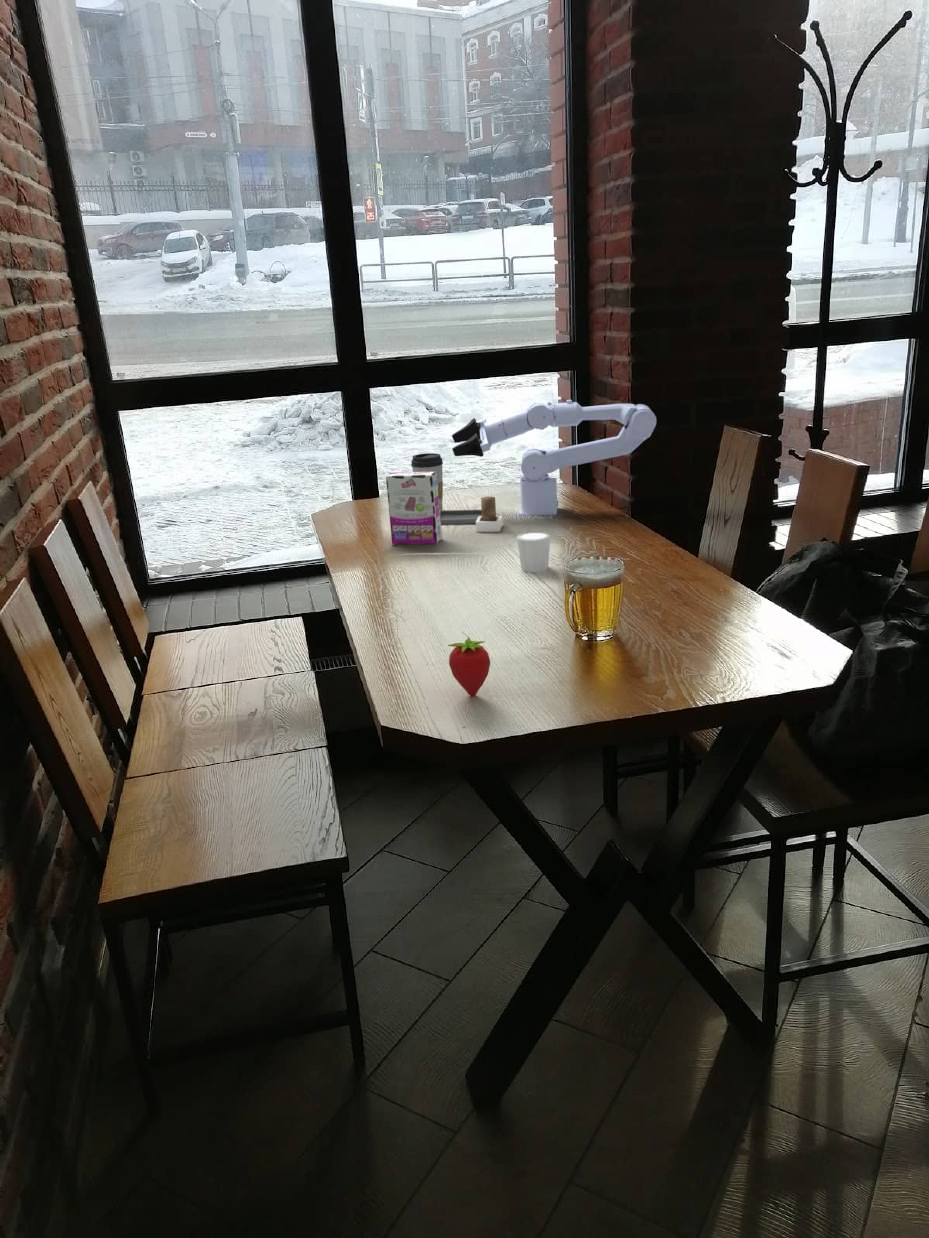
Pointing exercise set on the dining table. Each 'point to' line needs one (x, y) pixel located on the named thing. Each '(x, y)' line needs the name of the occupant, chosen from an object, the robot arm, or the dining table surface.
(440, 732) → the dining table surface
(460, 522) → the tray
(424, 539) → the candy bar box
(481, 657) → the strawberry
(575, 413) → the robot arm
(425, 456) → the coffee cup
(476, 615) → the dining table surface
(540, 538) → the white tapered cylinder
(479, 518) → the white square frame
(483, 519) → the dowel
